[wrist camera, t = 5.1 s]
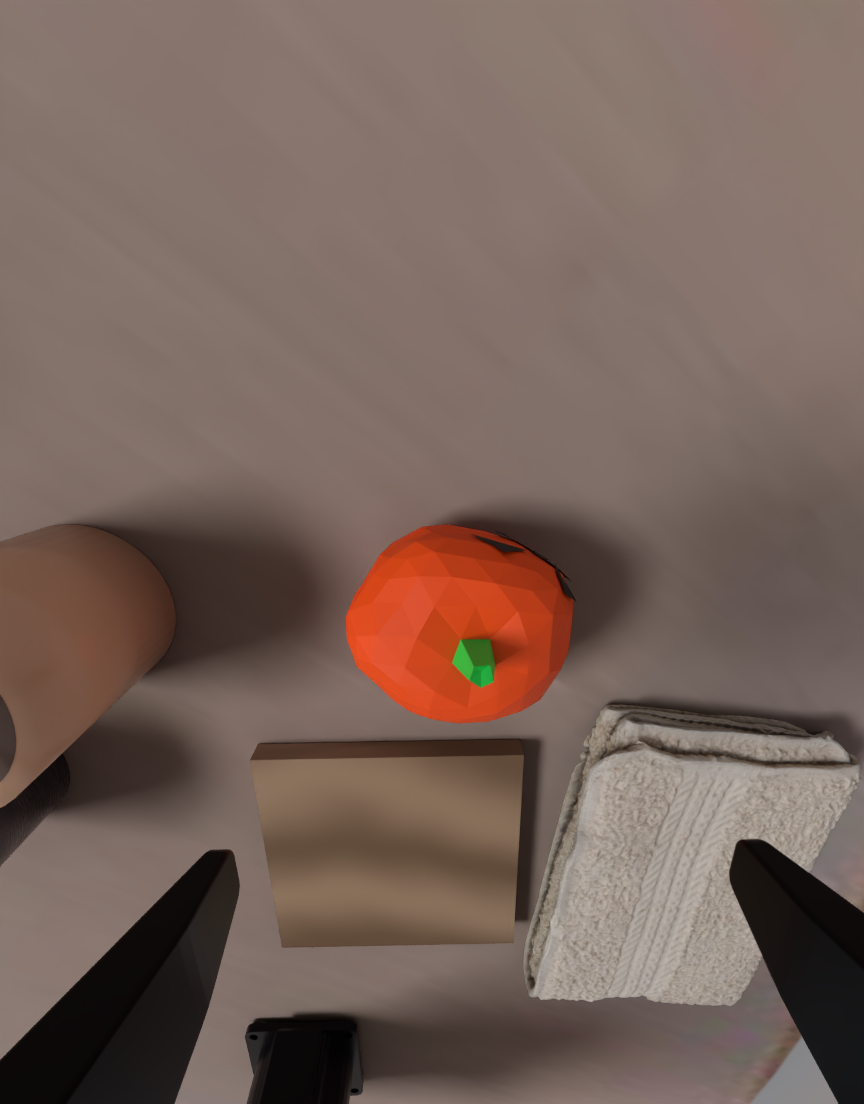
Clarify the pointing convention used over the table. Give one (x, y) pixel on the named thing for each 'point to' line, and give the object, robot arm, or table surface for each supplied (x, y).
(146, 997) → the robot arm
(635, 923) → the washcloth
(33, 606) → the terracotta cup
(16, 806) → the black metal can
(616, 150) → the table surface
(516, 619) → the pumpkin
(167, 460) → the table surface
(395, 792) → the walnut board
